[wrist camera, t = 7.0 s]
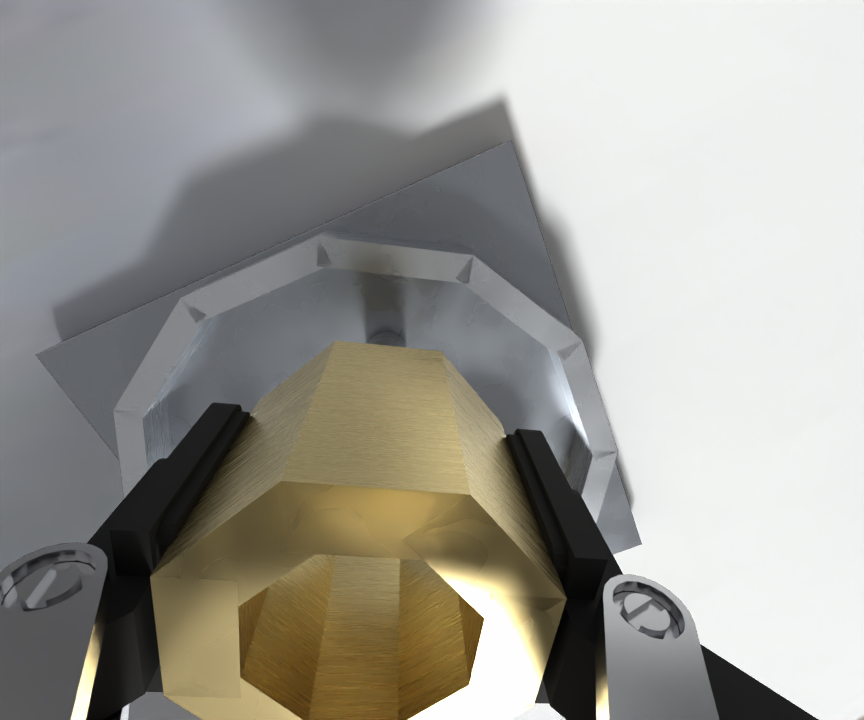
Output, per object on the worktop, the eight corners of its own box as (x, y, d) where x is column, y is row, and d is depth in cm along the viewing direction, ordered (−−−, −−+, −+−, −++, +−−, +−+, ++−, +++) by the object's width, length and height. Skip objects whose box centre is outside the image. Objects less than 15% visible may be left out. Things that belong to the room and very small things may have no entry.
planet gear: (513, 358, 11) (596, 504, 6) (474, 551, 13) (513, 769, 8) (258, 332, 10) (137, 471, 6) (259, 538, 12) (171, 764, 8)
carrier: (628, 523, 26) (710, 650, 19) (292, 646, 27) (256, 801, 21) (503, 143, 18) (561, 125, 12) (60, 342, 20) (-111, 426, 14)
